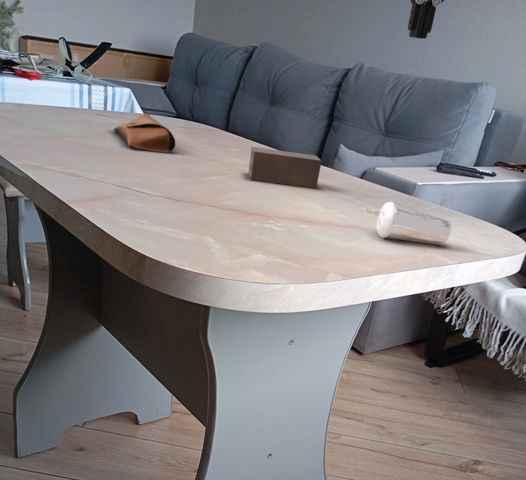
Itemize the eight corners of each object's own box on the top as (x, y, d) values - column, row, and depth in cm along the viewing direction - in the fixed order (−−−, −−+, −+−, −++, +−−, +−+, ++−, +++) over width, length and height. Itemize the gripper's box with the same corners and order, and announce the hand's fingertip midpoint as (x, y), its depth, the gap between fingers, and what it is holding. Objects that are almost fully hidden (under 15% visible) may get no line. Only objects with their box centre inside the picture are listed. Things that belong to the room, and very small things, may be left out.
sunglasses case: (109, 128, 121) (128, 99, 120) (139, 149, 125) (157, 121, 124) (128, 146, 107) (150, 113, 106) (161, 169, 111) (182, 138, 110)
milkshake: (443, 209, 82) (372, 193, 80) (457, 220, 77) (382, 203, 75) (431, 242, 84) (361, 226, 82) (444, 254, 79) (370, 238, 77)
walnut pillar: (316, 155, 103) (251, 146, 101) (321, 160, 99) (254, 151, 97) (311, 182, 105) (248, 174, 103) (316, 188, 101) (250, 180, 99)
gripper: (492, -104, 84) (456, 44, 92) (387, -124, 82) (360, 30, 90) (518, -116, 78) (477, 45, 86) (405, -138, 75) (374, 29, 83)
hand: (417, 37), depth 88 cm, fingers closed
